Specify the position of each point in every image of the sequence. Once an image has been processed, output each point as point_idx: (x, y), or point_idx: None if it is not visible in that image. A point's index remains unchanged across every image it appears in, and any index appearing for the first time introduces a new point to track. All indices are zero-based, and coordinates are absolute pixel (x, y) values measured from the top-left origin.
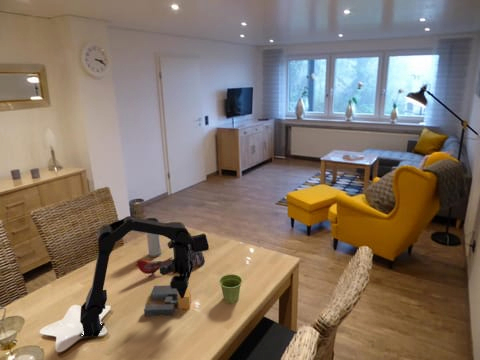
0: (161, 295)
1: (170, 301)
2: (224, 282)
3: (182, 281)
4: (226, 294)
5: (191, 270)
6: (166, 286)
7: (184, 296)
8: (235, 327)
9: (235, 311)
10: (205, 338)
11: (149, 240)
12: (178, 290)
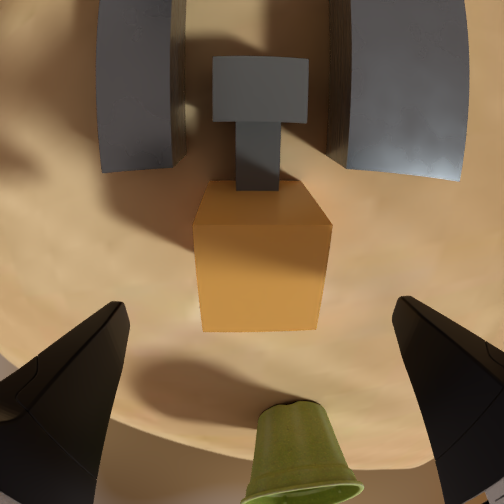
0: (345, 13)
1: (220, 117)
2: (339, 460)
3: None
4: (258, 454)
5: (442, 481)
6: (458, 62)
7: (208, 294)
8: (121, 420)
9: (206, 428)
10: (35, 343)
11: None
12: (16, 387)
